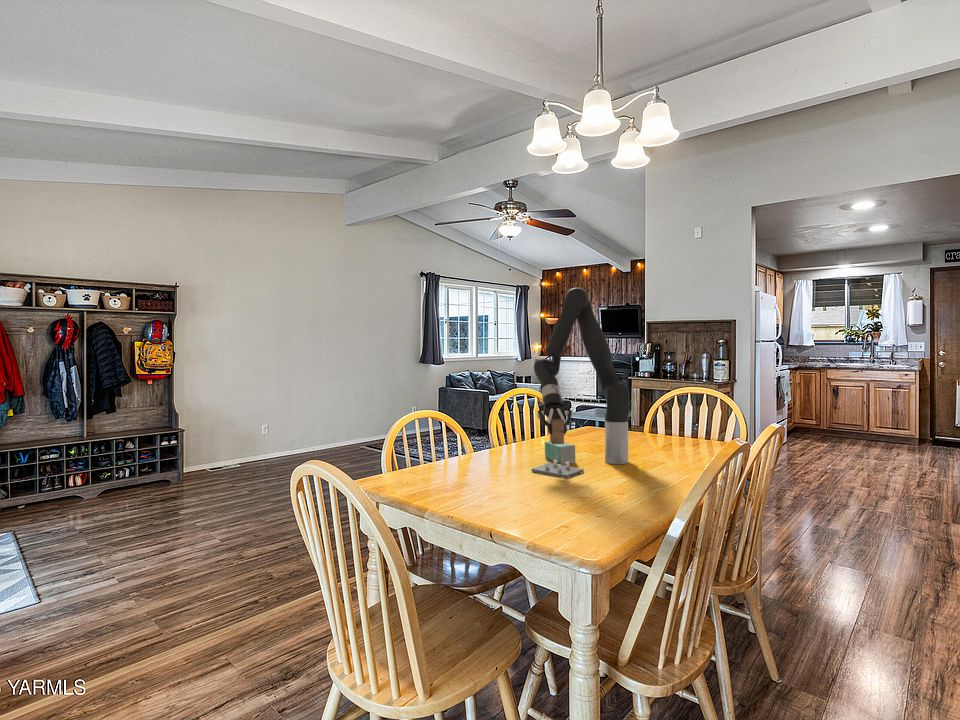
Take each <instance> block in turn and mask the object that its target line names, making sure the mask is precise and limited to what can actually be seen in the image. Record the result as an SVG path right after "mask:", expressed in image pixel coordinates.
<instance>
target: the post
mask: <svg viewBox="0 0 960 720" xmlns="http://www.w3.org/2000/svg"><path fill="white" fill-rule="evenodd" d="M551 425H552V430H553V433H552V435H550V434H549V441H550V442H551V443H552V444H564V442H565V434H564V420H563V419H551Z"/></svg>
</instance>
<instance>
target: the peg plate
mask: <svg viewBox="0 0 960 720" xmlns="http://www.w3.org/2000/svg"><path fill="white" fill-rule="evenodd" d="M570 464H571V463H570V462H566V464H565V465H563V464H559V463H557V460H553V461H552V463H550V462H545V464H542V465H538V466H535V467H532V468H531V471H532V473H535V472H537V474H540V473H542V474H541V475H546V474H547V476H551V475H553V476H552V477H556V476H558V478H561V477H564V478H563V479H569V478H568V477H570V478H572V477H574V476H573V475H575V476H577V475H576V474H578V475H580V474H582V473H581V472H583V473H584V471H585V470H584V468H578V467H574V466H571V465H570ZM579 473H580V474H579ZM571 476H572V477H571Z"/></svg>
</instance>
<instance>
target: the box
mask: <svg viewBox="0 0 960 720" xmlns="http://www.w3.org/2000/svg"><path fill="white" fill-rule="evenodd" d="M544 457H545V459H546V458H547V459H546V460H549V461H551V460H552V461H551V462H553V460H557V464H558V465H559V464H560V465H566V462H570V464H575V463H576V445H575V444H572V443H568V442H565V441H564V444H552V443H551V442H550V440H549V441H548V440H547V441H545V442H544Z"/></svg>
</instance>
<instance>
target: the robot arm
mask: <svg viewBox="0 0 960 720" xmlns="http://www.w3.org/2000/svg"><path fill="white" fill-rule="evenodd" d="M576 320H577V321H576ZM575 322H577V324H578V328H579V331H580V332H579V333H580V337H581V341H582V343H583V347H584V349H585V351H586V354H587V357H588V358H589V360H590V363H591V364H592V366H593V368H594V371H595V372H596V375H597V377H598V379H599V383H600V387H601V390H602V394H603V396H604V399H605V400H606V412H605V414H604V462H605V463H606V462H607V463H606V464H611V465H626V464H628V463H629V415H630V408H631V407H630V403H631V402H630V401H631V398H630V396H631V395H630V390H629V387H628V385H626V384H624V383H622V382H621V381H620V379H619V377H618V375H617V372H616V370H615V367H614V364H613V357H612V352H611V347H610V345H609V343H608V340H607V339H606V336H605V334H604V332H603V330H602V327H601V326H600V323H599V322H598V320H597V319H596V315H595V314H594V310H593V307H592V305H591V301H590V297H589V293H588V292H587V291H586V290H585V289H584V288H581V287H573V288H570V289H569V290H568V291H567V293H566V294H565V297H564V303H563V307H562V311H561V313H560V317H559V319H558V321H557V323H556V326H555V328H554V329H553V331H552V334H551V336H550V338H549V340H548V343H547V345H546V348H545V352H546V354H548V355H550V356H551V360H550V359H547V358H545V357H539V358H537V359H536V360H535V361H534V364H533V369H534V370H533V371H534V374H535V376H536V378H537V380H538V382H539V383H540V387H541V388H540V390H541V399H542V403H543V410H541V409H539V410H537V415H536V416H537V417H538V420H539V421H540V423H541V425H542V427H543V426H546V427H547V432H548V434H549V436H550V435H552V433H553V430H552V425H551V419H563V420H564V435H566V433H567V432H568V427H567V426H570V424H571V420H572V412H573V411H572V409H569V410H566V409H565V408H564V404H563V400H562V399H563V398H562V394H561V390H560V388H559V386H560V385H559V383H558V379H557V377H556V376H557V375H558V374H559V372H560V371H559V370H560V366H561V360H562V355H563V352H564V349H565V348H566V345H567V343H568V340H569V338H570V335H571V333H572V329H573V326H574V324H575ZM544 415H545V416H544ZM564 415H565V416H566V418H567V419H565V417H564ZM546 417H547V420H546Z"/></svg>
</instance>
